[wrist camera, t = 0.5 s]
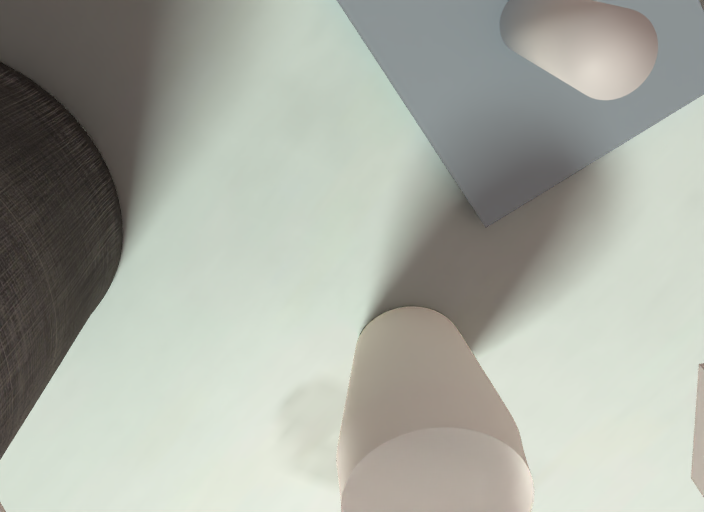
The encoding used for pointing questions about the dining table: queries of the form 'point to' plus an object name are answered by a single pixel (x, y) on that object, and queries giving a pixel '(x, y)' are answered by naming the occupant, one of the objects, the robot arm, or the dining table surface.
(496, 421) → the cup
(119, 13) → the dining table surface
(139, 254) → the dining table surface
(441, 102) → the post block
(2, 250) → the planter
